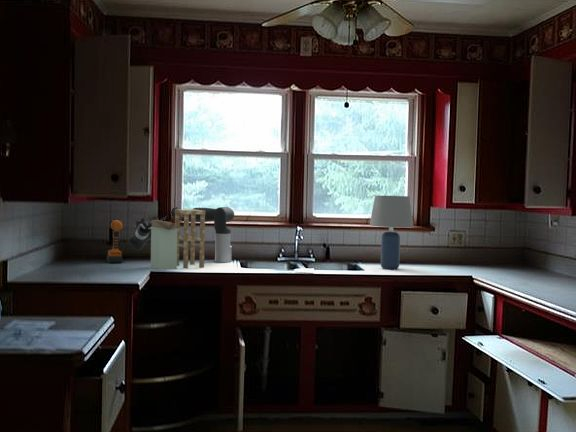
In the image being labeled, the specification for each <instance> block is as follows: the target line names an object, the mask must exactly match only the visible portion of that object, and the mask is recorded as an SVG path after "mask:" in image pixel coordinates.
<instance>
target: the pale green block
mask: <svg viewBox="0 0 576 432" xmlns="http://www.w3.org/2000/svg"><path fill="white" fill-rule="evenodd" d="M177 231H178V229H177V228H175V230H168V229H163V228H158V227H151V239H150V267H151V266H152V267H151V268H153V267H154V268H153V269H156V270H161V269H163V270H177V269H178V268H177V267H178V265H177Z"/></svg>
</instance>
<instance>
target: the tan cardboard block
mask: <svg viewBox="0 0 576 432" xmlns="http://www.w3.org/2000/svg"><path fill="white" fill-rule="evenodd" d="M151 221H152V226H154V227H158V228H163V229H168V230H175V223H172V222H171V221H166V220H164V221H161V220H156V219H152V220H151Z"/></svg>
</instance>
